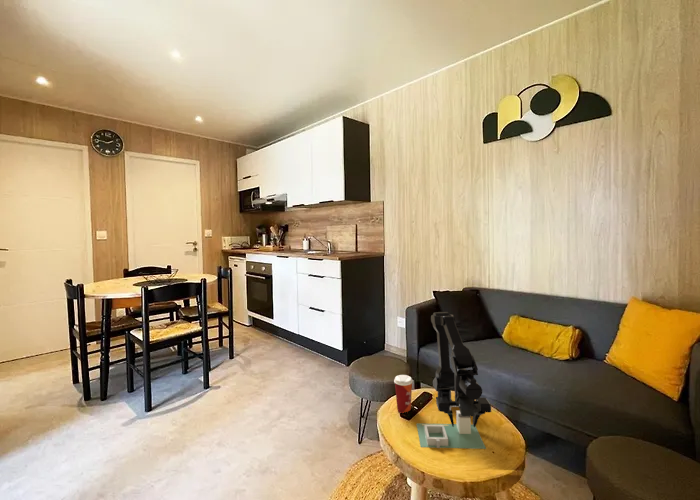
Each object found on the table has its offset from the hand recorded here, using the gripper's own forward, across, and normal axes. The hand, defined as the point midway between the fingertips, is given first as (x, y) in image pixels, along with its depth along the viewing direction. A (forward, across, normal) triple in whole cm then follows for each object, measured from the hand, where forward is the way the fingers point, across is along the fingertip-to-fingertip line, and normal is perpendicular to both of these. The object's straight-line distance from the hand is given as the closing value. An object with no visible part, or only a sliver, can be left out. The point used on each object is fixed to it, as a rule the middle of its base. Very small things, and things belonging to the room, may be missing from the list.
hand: (463, 426), depth 124 cm
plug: (+1, 0, 0) cm, 1 cm away
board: (+2, -6, -4) cm, 7 cm away
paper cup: (+2, -21, +14) cm, 26 cm away
